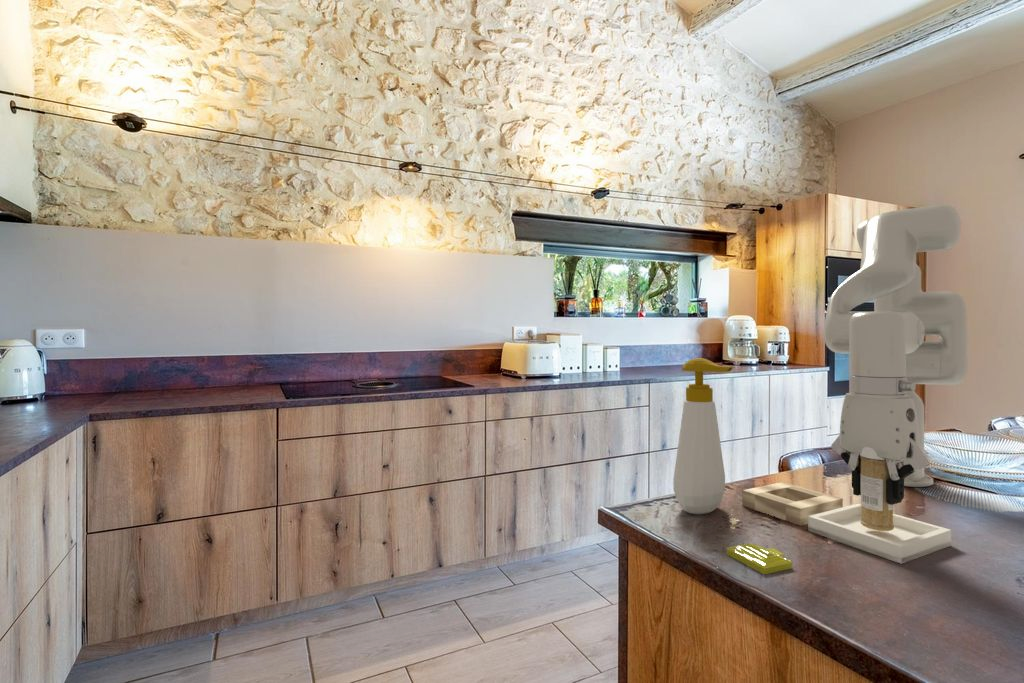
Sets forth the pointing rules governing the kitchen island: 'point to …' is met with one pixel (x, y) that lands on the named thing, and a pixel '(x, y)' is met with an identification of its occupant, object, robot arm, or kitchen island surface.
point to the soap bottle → (699, 445)
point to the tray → (881, 534)
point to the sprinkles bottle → (874, 492)
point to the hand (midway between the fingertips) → (876, 497)
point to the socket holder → (789, 501)
